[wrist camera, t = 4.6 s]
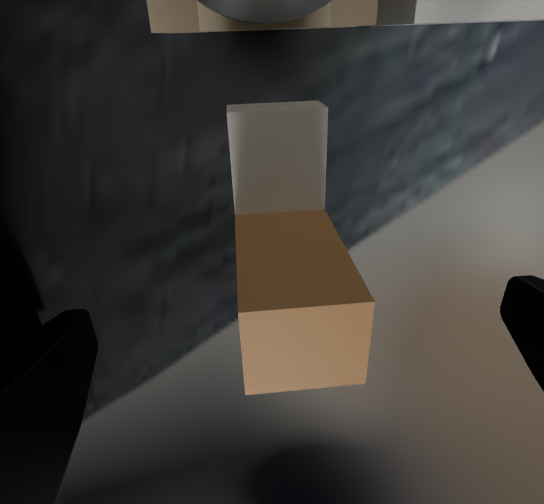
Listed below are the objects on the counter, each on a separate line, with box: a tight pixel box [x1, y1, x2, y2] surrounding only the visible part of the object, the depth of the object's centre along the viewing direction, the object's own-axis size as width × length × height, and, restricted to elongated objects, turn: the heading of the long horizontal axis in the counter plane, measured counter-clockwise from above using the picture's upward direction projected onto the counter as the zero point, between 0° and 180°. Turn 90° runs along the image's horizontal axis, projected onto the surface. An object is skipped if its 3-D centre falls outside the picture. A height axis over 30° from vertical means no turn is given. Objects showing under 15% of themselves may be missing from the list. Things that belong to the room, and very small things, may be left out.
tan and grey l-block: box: [227, 101, 375, 395], centre depth 9 cm, size 2×5×5 cm, turn 2°
